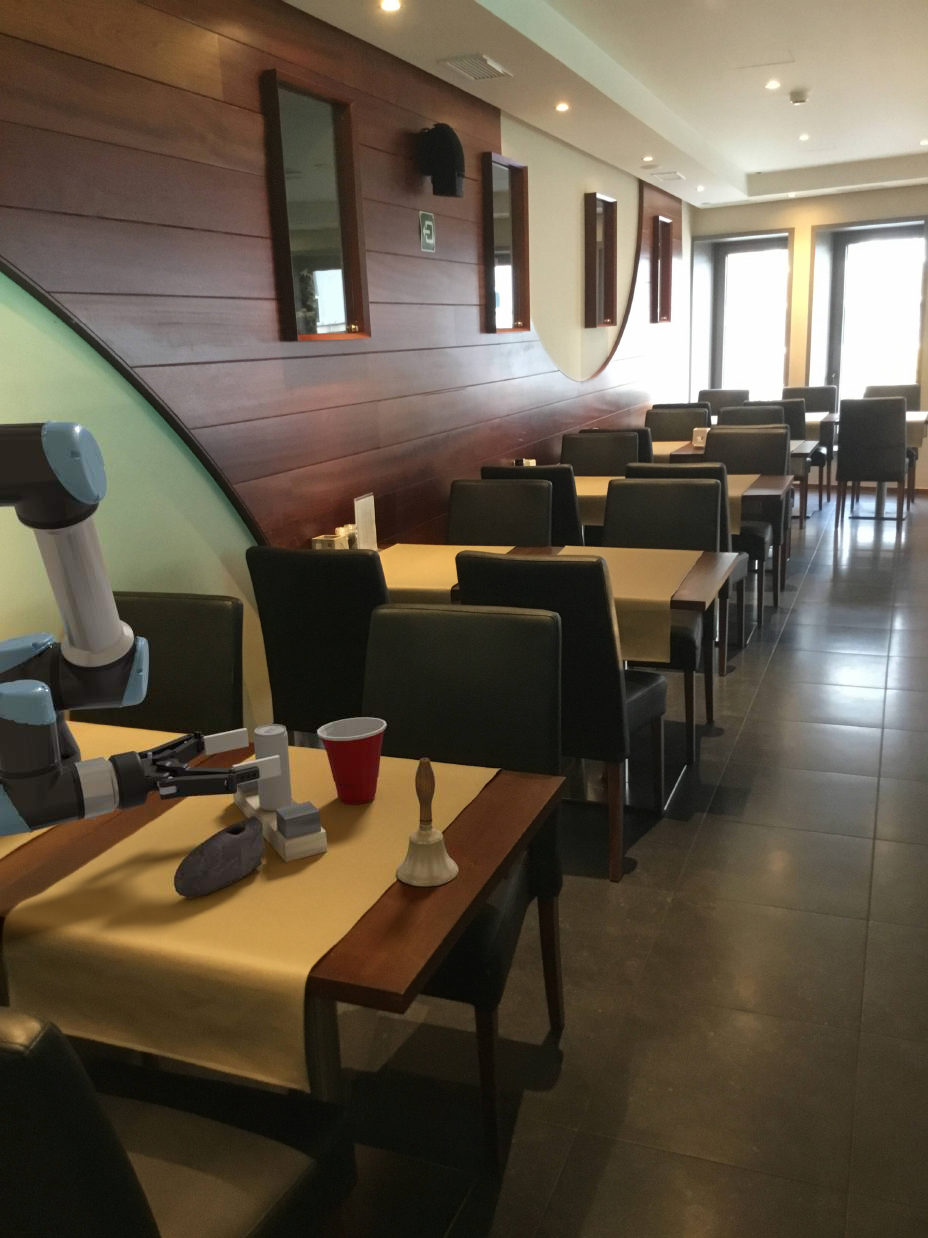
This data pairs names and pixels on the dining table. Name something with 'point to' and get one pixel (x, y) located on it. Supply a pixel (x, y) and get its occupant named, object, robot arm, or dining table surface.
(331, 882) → the dining table surface
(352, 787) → the plastic cup
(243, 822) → the perforated stone tool
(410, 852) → the hand bell
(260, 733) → the beverage can
